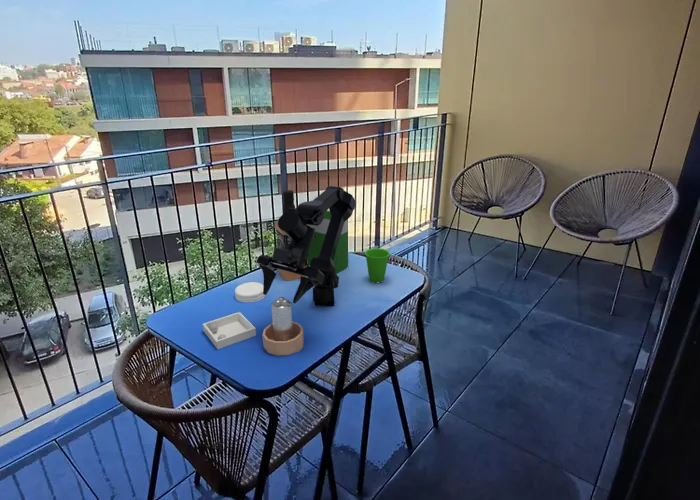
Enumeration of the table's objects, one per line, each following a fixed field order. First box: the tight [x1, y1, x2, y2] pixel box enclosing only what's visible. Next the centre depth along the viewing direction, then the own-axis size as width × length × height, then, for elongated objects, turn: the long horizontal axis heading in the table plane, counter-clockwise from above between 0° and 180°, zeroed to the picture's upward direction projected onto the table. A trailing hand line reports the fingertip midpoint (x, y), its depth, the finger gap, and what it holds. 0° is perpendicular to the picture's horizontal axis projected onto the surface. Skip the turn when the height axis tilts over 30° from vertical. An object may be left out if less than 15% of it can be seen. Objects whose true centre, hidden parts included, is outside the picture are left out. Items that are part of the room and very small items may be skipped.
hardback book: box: [307, 209, 349, 275], centre depth 160 cm, size 18×7×24 cm, turn 54°
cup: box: [364, 247, 391, 284], centre depth 149 cm, size 9×9×11 cm
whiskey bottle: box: [274, 189, 310, 281], centre depth 151 cm, size 10×10×32 cm
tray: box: [202, 311, 257, 350], centre depth 118 cm, size 11×11×3 cm
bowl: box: [262, 321, 305, 356], centre depth 113 cm, size 11×11×4 cm
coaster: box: [234, 281, 266, 303], centre depth 139 cm, size 10×10×4 cm
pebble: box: [209, 324, 218, 333], centre depth 118 cm, size 2×2×2 cm
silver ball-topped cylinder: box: [271, 296, 293, 341], centre depth 111 cm, size 5×5×14 cm
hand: (278, 298), depth 110 cm, fingers open, 9 cm apart
